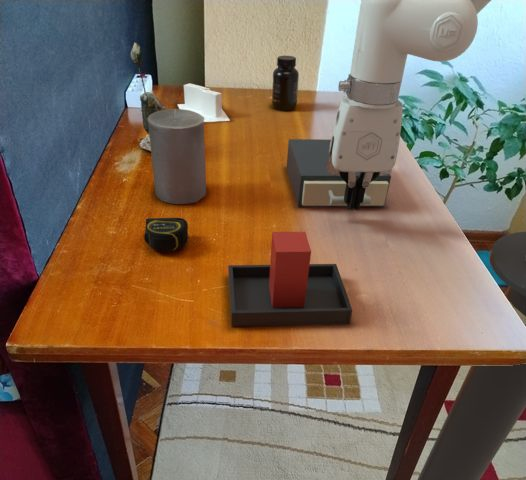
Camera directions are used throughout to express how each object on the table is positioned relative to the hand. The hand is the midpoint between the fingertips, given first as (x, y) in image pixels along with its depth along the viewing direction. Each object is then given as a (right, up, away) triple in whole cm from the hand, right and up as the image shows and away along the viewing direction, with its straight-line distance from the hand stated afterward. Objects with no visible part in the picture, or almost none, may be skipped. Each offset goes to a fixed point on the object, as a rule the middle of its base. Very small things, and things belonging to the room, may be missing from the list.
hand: (352, 206), depth 84 cm
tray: (-12, -18, -14) cm, 26 cm away
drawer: (-1, +6, +11) cm, 12 cm away
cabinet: (-1, +8, +14) cm, 16 cm away
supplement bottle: (-10, +41, +49) cm, 65 cm away
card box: (-12, -17, -15) cm, 26 cm away
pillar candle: (-31, +5, +9) cm, 33 cm away
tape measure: (-31, -7, -4) cm, 33 cm away
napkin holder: (-31, +37, +43) cm, 65 cm away
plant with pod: (-39, +20, +24) cm, 50 cm away
